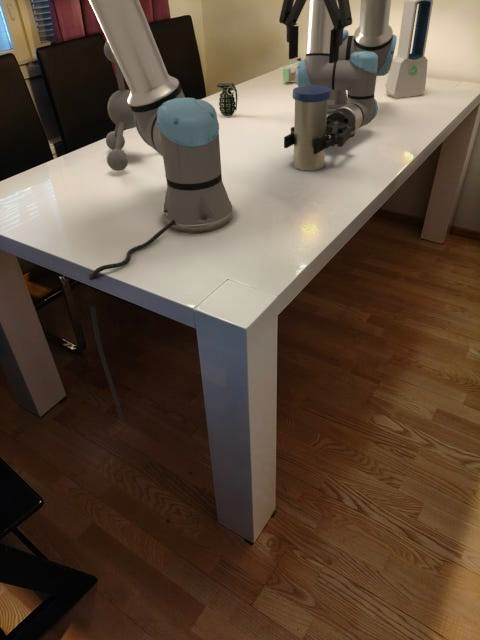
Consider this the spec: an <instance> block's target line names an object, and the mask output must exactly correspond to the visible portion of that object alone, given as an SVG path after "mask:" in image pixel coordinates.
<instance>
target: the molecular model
mask: <svg viewBox="0 0 480 640" xmlns="http://www.w3.org/2000/svg"><path fill="white" fill-rule="evenodd" d="M103 53H104V55H105V57H106V59H107V60H108V61H109V62H111V63H114V68H115V72H116V77H117V78H116V79H117V83H118V89H119V90H117V91H115V92H114V93H112V94H111V96H110V97H109V99H108V102H107V113H108V117H109V118H110V120H111V121H112V123H113V124H115V128H114V130H113V131H110V132H108V133H107V135H106V137H105V144H106V146H107V147H108V148H109V150H110V151H109V152H108V153H107V156H106V162H107V165H108V167H109V168H110V169H111V170H113V171H116V172H119V171H120V172H121V171H123V170H125V169H126V168H127V166H128V164H129V158H128V155H127V153H126V152H125V151H124V150H122V149H123V148H125V144H126V140H125V139H126V138H125V137H124V130H130V129H131V130H132V129H134V128H136V125H135V121H134V115H133V112H132V110H131V108H130V106H129V104H128V98H129V95H130V89H126V86H125V78H124V76H123V73H122V71H121V69H120V67H119V65H118V62H117V60H116V58H115V56H114V54H113V52H112V49H111V47H110V45H109V43H108V41H107V40H106V41H105V43H104V45H103Z"/></svg>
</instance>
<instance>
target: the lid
mask: <svg viewBox="0 0 480 640" xmlns="http://www.w3.org/2000/svg"><path fill="white" fill-rule="evenodd" d="M330 94H331V89H330V88H329V87H326V86H320V85H307V86H300V87H298V86H297V87H294V88H293V89H292V99H293V100H294V101H295V100H298V101H303V102H317V101H323V100H327V99H329V98H330Z"/></svg>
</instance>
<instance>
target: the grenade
mask: <svg viewBox="0 0 480 640" xmlns="http://www.w3.org/2000/svg"><path fill="white" fill-rule="evenodd" d="M215 87H217V88H219V89H221V93H219V97H218V101H219V102H218V106H219V108H218V109H219V112H220V114H221V115H222V116H224V117H231V116H233V115H234V113H235V112H236V111H237V108H238V89H237V87H236V85H235V84H234V83H233V82H218V83H217V84H216V86H215ZM232 91H233V92H232ZM234 94H235V96H234Z"/></svg>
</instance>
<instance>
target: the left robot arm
mask: <svg viewBox="0 0 480 640" xmlns="http://www.w3.org/2000/svg"><path fill="white" fill-rule="evenodd" d="M88 1H89V4H90V5H91V8H92V10H93V12H94V14H95V16H96V19H97V21H98V23H99V25H100V28H101V30H102V32H103V33H104V36H105V38H106V42H107V41H108V43H109V45H110V47H111V49H112V52H113V54H114V56H115V58H116V60H117V62H118V65H119V67H120V69H121V71H122V74H123V79H124V81H125V82H126V85H127V86H128V90H130V95H129V98H128V104H129V106H130V108H131V110H132V112H133V115H134V121H135V125H136V127H135V128H136V131H137V133H138V135H139V136H140V138H141V139H142V141H143V142H144V143H145V144H147V146H149V147H151V148H152V149H153V150H154V151H156V152H157V153H158V154H159V155H160V156H161V157H162V159H163V168H164V173H165V180H166V190H165V191H166V192H165V196H164V203H163V207H162V218H163V222H164V224H165V226H164V227H162V228H161V229H159V231H157V232H156V233H155V234H153V236H152V237H151V238H150V239H148V240H147V241H146V242H143V243H142V244H139V245H136V246H134V247H132V248H130V249H129V250H128V251H127V253H126V257H125V258H124V260H122V261H119V262H115V263H109V264H104V265H101V266H99V267H97V268H95V269H94V270H93V272H91V274H90V276H89V279H88V280H89V281H92V280H95V278H96V276H97V275H98V274H100V273H101V272H102V271H106V270H111V269H116V268H121V267H124V266H125V265H127V264H128V263H129V262H130V260H131V256H132V254H133V253H136V252H138V251H140V250H142V249H145V248H146V247H148V246H150V245H151V244H153V243H154V242H155V241H156V240H157V239H158V238H160V237H161V236H162V235H163V234H164V233H165V232H167V231H168V230H169V229H171V230H173V231H177V232H180V233H190V234H191V233H192V234H193V233H194V234H195V233H196V234H197V233H205V232H206V233H207V232H210V231H215V230H216V229H220V228H222V227H224V226H226V225H227V224H228V223H230V221H231V220H232V218H233V216H234V212H233V211H234V210H233V204H232V201H231V200H230V197H229V195H228V192H227V190H226V187H225V184H224V182H223V175H222V174H223V173H222V161H221V159H222V158H221V145H220V124H219V120H218V114H217V111H216V109H215V107H214V105H212V104H211V103H210V102H209V101H207V100H203V99H200V98H198V99H196V98H195V97H185V94H184V92H183V89H182V86H181V84H180V81H179V79H178V78H176V77H174V76H171V75H170V74H169V73H168V70H167V68H166V65H165V63H164V60H163V57H162V54H161V52H160V50H159V48H158V45H157V42H156V40H155V38H154V35H153V32H152V30H151V27H150V25H149V22H148V20H147V17H146V15H145V12H144V9H143V7H142V5H141V1H140V0H88ZM306 2H307V0H283V2H282V6H281V10H280V15H279V19H278V21H279V23H280V24H283V25H285V27H286V42H287V43H288V60H293V59H296V58H297V59H298V57H299V25H298V23H297V22H298V19H299V17H300V16H301V13H302V11H303V9H304V7H305V4H306ZM324 3H325V5H326V8H327V10H328V13H329V15H330V18H331V20H332V23H333V26H334V28H333V30H331V36H330V53H329V63H334V62H337V61H338V56H339V46H340V45H342V42H343V30H345V28H346V27H349V26H352V24H353V17H352V10H351V5H350V0H337V2H336V0H324ZM90 314H91V321H92V327H93V332H94V337H95V342H96V346H97V350H98V354H99V357H100V360H101V361H100V362H101V363H102V367H103V370H104V373H105V377H106V380H107V382H108V385H109V388H110V391H111V393H112V396H113V400H114V403H115V406H116V410H117V414H118V417H119V421H120V422H124V420H125V418H124V413H123V410H122V407H121V404H120V400H119V397H118V393H117V391H116V388H115V384H114V382H113V379H112V375H111V372H110V370H109V366H108V362H107V360H106V356H105V353H104V348H103V345H102V341H101V337H100V331H99V325H98V319H97V311H96V306H93V305H90Z"/></svg>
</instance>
